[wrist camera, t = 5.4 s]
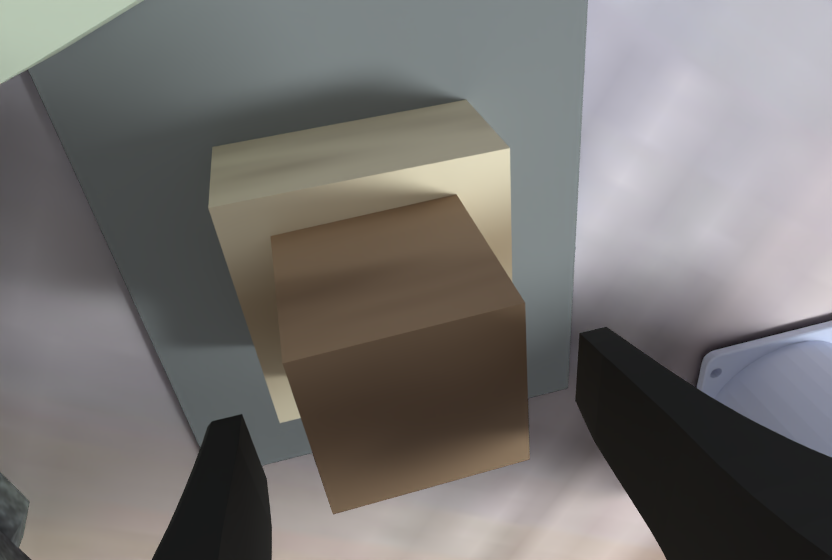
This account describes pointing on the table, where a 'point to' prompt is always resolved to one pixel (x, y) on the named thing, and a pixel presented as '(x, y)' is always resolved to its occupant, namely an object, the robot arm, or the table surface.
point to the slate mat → (294, 111)
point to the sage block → (48, 28)
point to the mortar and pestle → (11, 521)
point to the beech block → (348, 197)
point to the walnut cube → (402, 350)
